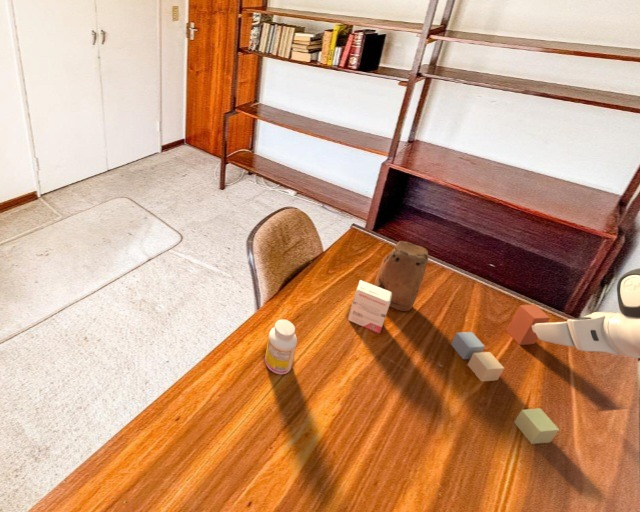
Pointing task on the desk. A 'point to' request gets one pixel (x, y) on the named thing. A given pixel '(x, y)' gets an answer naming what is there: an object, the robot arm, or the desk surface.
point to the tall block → (526, 324)
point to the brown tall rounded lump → (402, 274)
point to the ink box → (370, 306)
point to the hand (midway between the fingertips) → (551, 327)
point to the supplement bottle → (281, 347)
